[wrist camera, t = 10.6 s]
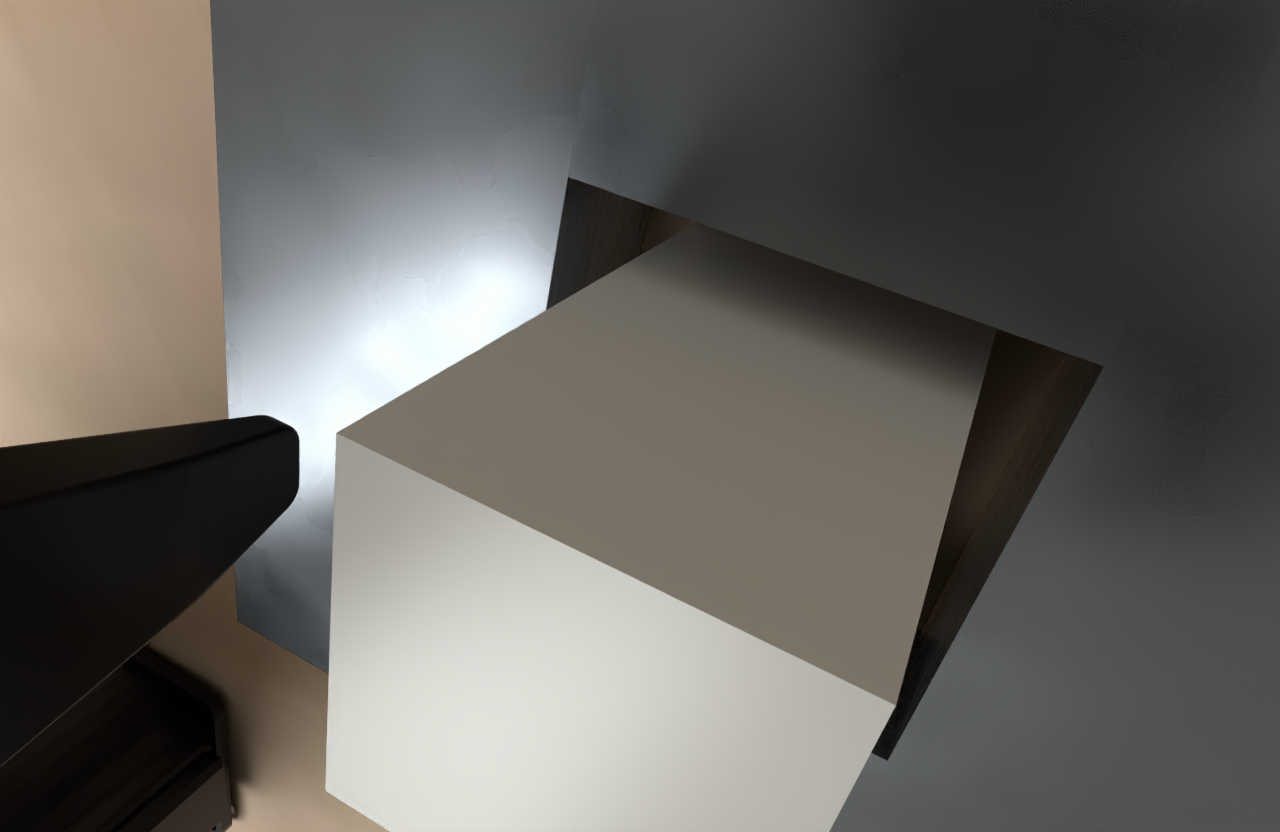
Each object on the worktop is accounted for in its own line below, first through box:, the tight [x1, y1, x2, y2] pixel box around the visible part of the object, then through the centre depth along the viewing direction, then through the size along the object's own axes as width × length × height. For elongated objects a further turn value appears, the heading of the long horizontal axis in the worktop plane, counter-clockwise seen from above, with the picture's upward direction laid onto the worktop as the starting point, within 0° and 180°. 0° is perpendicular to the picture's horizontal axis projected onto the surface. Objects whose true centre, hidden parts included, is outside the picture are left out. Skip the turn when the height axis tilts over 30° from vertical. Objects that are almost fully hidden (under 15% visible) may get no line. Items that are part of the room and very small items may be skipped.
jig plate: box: [210, 0, 1280, 832], centre depth 13 cm, size 18×16×3 cm
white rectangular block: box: [325, 222, 997, 832], centre depth 11 cm, size 5×5×8 cm
